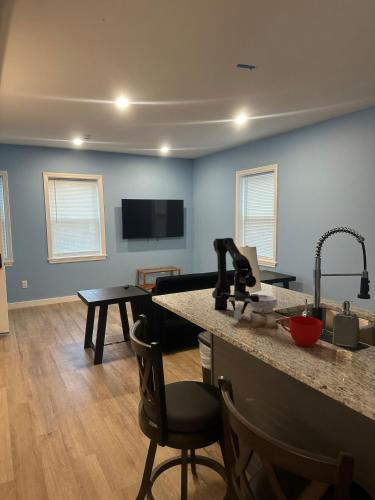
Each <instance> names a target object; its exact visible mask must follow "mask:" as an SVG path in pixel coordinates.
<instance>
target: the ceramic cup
mask: <svg viewBox="0 0 375 500" xmlns="http://www.w3.org/2000/svg"><path fill="white" fill-rule="evenodd" d="M284 321H286V322H287V323H288V325H289V328H287V327H286V326H285V324H284ZM280 324H281V327H282V329H284V331H286V332H288V333H289V334H290V336H291V338H292V340H293V341H294V343H295V345H297V346H299V345H300V346H299V347H302V346H304V347H303V348H311V347H310V346H312V347H313V346H314V345H316V343H317V342H318V341H319V340H320V338H321V335H322V332H323V325H324V324H323V321H322V320H320V319H318V318H315V317H311V316H306V315H305V316H304V315H294V316H291V317H290V318H289V319H288V318H282V319H281V321H280Z"/></svg>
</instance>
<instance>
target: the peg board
mask: <svg viewBox="0 0 375 500" xmlns="http://www.w3.org/2000/svg"><path fill="white" fill-rule="evenodd" d="M249 317H250V325H251V327H252V328H260V329H261V328H262V329H275V330H278V329H279V327H278V326H279V325H278V323H277V321H276V318H275V315H274V314H269V313H264V309H260V313H251V312H250V313H249Z"/></svg>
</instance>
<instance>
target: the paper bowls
mask: <svg viewBox="0 0 375 500" xmlns="http://www.w3.org/2000/svg"><path fill="white" fill-rule="evenodd" d="M258 295H259V302H252V301H251V300H250V301H251V303H248V306H249V307H251V309H252V311H253V312H254V313H255V312H256V313H257V314H260V309H264V314H269V313H271V312H273V310H274V309H277V302H278V299H277V298H276V297H275V296H272V295H266V294H258Z"/></svg>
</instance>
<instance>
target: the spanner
mask: <svg viewBox="0 0 375 500" xmlns="http://www.w3.org/2000/svg"><path fill="white" fill-rule="evenodd" d="M235 308H236V309H235V310H234V309H233V319H235V320H241V319H242V318H243V315H244V314H242V312H243V305H241V304H238V305H237V306H235Z"/></svg>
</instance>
